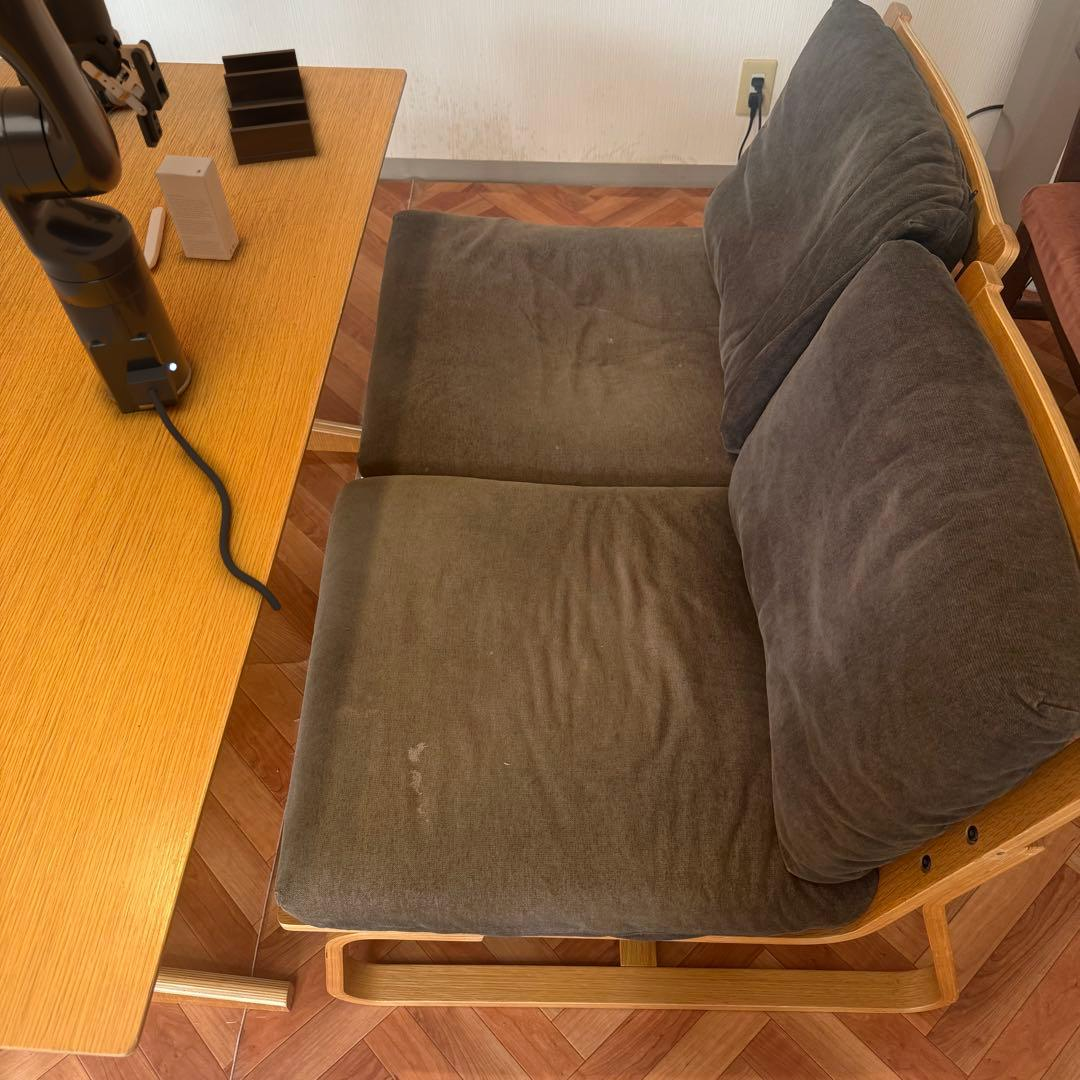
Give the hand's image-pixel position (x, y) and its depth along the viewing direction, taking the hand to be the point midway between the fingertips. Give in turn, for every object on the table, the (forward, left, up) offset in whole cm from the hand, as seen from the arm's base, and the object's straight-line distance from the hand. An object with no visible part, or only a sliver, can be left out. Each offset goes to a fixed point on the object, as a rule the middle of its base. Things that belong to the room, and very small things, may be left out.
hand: (115, 141), depth 96 cm
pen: (+9, +2, -19) cm, 21 cm away
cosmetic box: (+6, -5, -19) cm, 21 cm away
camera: (+45, +8, -19) cm, 50 cm away
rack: (+36, -15, -19) cm, 44 cm away
